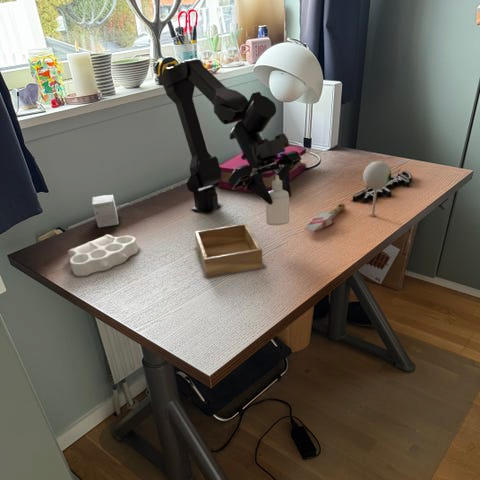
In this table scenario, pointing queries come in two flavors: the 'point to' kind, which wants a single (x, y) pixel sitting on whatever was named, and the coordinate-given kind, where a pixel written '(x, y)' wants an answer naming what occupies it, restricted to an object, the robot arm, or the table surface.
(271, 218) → the eye dropper bottle
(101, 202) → the product box
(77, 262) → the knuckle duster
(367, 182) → the lollipop
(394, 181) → the nameplate
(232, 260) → the crate
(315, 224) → the cricket bat
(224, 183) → the book
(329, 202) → the table surface
